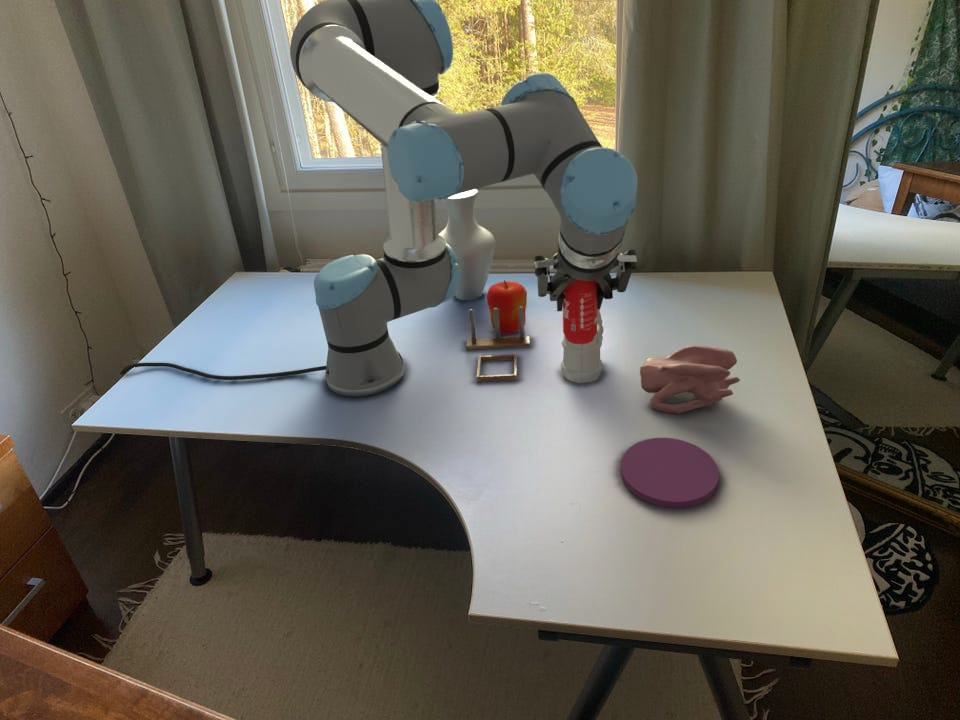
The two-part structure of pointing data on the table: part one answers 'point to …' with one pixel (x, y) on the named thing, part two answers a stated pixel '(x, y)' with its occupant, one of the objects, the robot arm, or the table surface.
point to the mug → (583, 357)
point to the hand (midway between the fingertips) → (578, 302)
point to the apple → (507, 304)
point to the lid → (669, 472)
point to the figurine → (689, 377)
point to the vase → (468, 245)
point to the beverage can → (580, 311)
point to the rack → (497, 345)
